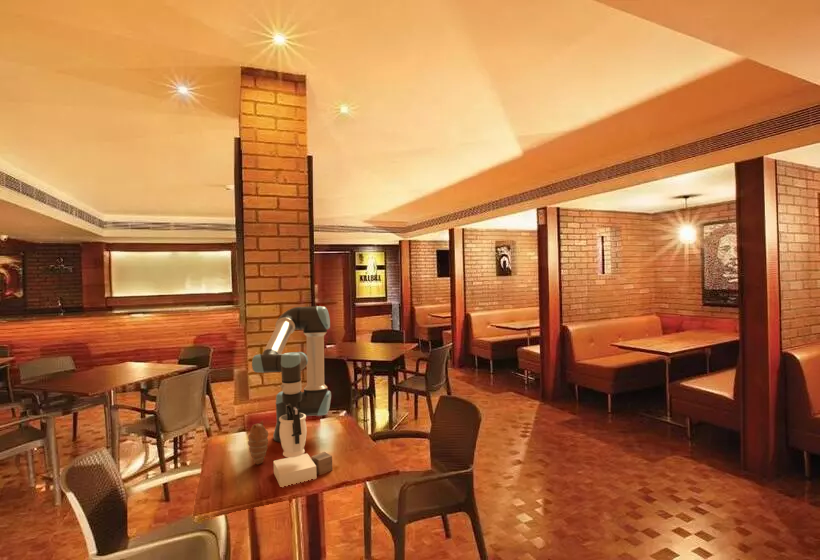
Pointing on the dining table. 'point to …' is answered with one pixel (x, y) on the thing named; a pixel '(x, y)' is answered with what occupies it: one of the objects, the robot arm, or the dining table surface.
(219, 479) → the dining table surface
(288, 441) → the jar
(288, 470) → the cream block
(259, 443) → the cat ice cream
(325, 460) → the walnut cube
